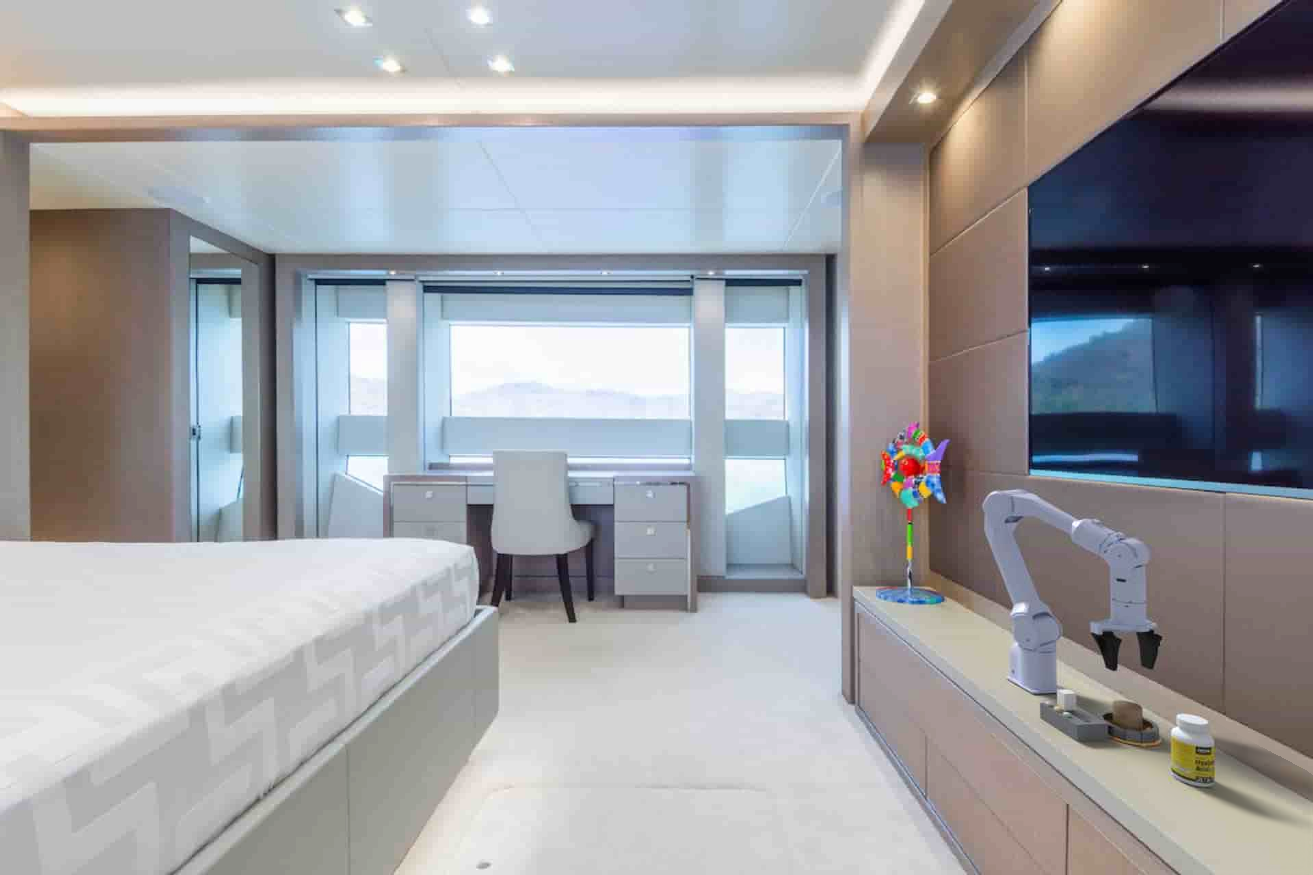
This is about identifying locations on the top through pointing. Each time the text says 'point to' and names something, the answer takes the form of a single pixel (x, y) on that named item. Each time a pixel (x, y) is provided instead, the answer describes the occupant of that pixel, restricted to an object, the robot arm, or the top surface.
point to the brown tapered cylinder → (1127, 715)
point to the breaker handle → (1066, 699)
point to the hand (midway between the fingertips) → (1129, 668)
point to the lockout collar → (1132, 731)
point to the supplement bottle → (1192, 751)
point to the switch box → (1074, 722)
